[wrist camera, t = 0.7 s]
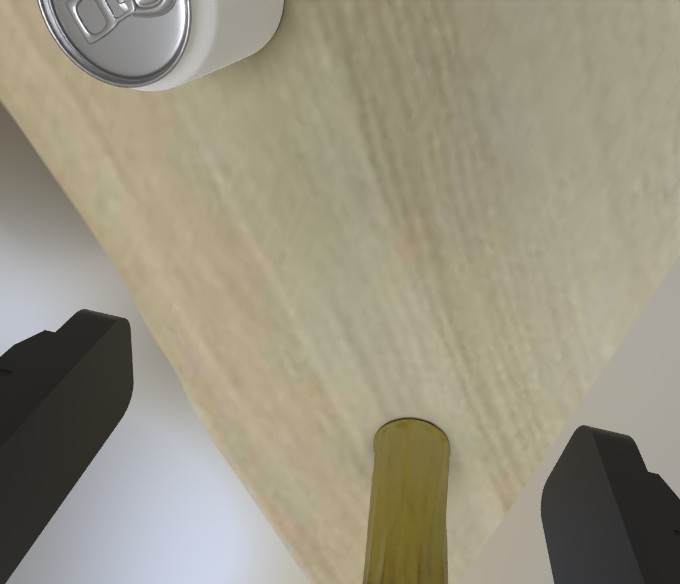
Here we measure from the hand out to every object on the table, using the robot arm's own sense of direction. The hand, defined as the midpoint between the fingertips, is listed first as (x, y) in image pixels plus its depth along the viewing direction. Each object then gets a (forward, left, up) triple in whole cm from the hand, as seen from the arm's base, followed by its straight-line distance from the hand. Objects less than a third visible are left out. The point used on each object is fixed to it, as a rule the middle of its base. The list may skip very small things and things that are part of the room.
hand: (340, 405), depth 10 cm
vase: (+25, +7, -24) cm, 36 cm away
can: (-4, -11, -24) cm, 27 cm away
